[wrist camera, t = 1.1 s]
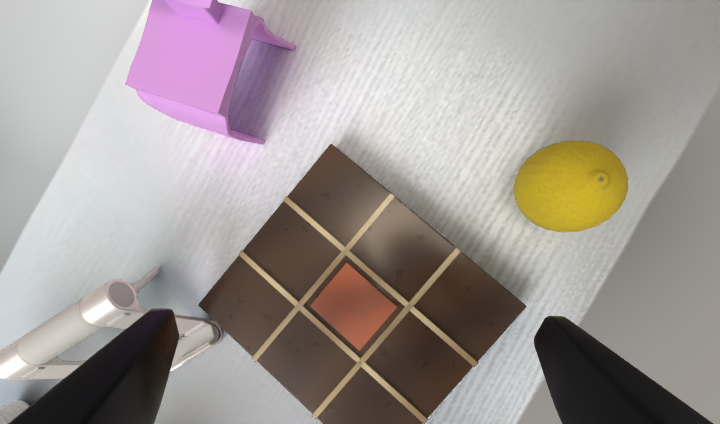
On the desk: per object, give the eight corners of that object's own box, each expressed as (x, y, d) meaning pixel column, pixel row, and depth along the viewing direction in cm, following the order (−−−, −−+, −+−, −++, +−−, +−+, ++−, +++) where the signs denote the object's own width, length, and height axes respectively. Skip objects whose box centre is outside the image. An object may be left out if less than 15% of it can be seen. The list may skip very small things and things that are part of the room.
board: (519, 301, 25) (528, 307, 24) (378, 461, 26) (376, 477, 25) (334, 147, 27) (330, 142, 26) (208, 300, 28) (196, 305, 26)
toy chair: (182, 124, 29) (-50, 21, 14) (215, 23, 29) (17, -189, 14) (273, 154, 28) (129, 77, 13) (308, 49, 28) (202, -149, 13)
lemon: (540, 139, 26) (603, 102, 18) (596, 194, 25) (687, 181, 17) (483, 191, 26) (520, 177, 18) (537, 246, 25) (600, 257, 17)
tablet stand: (140, 389, 29) (34, 457, 20) (97, 305, 29) (-23, 338, 21) (226, 337, 28) (153, 386, 20) (180, 252, 29) (90, 265, 20)
